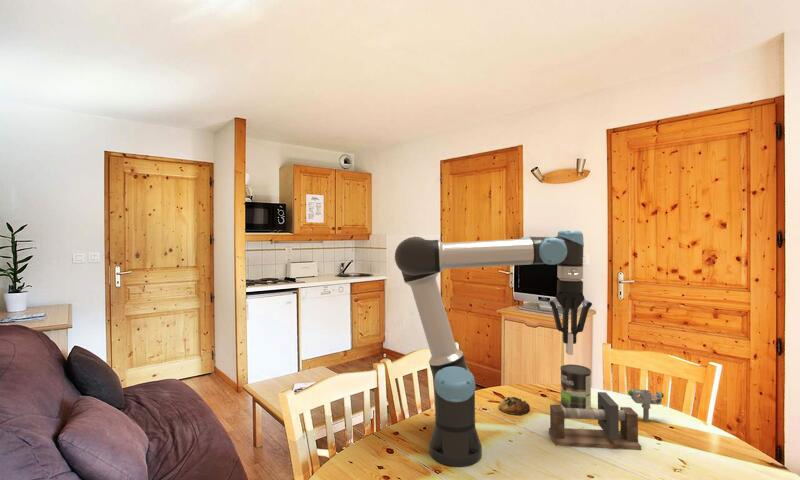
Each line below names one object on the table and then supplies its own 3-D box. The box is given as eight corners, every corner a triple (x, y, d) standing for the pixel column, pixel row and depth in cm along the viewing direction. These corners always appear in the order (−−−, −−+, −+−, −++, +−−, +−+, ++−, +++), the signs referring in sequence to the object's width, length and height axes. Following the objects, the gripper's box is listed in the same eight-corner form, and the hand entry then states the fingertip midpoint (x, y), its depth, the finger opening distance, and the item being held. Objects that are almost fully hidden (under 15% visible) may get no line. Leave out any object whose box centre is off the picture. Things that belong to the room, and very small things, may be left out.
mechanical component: (664, 423, 136) (664, 393, 135) (630, 421, 138) (630, 391, 137) (660, 419, 138) (660, 390, 138) (627, 417, 141) (627, 388, 140)
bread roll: (535, 414, 144) (532, 400, 144) (504, 420, 143) (502, 406, 143) (523, 402, 155) (521, 389, 155) (495, 408, 154) (493, 394, 154)
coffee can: (574, 415, 143) (573, 375, 143) (554, 403, 153) (554, 366, 153) (598, 410, 146) (597, 371, 146) (577, 399, 156) (577, 363, 156)
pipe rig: (556, 445, 123) (555, 413, 123) (548, 431, 132) (548, 401, 132) (641, 449, 120) (641, 416, 120) (627, 434, 129) (627, 403, 129)
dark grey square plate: (610, 439, 120) (609, 405, 120) (597, 423, 130) (597, 392, 130) (618, 439, 120) (618, 405, 120) (605, 423, 130) (605, 392, 130)
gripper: (551, 280, 127) (550, 356, 127) (595, 281, 125) (595, 358, 125) (546, 277, 134) (545, 349, 135) (587, 278, 132) (587, 350, 133)
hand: (569, 353), depth 130 cm, fingers closed
